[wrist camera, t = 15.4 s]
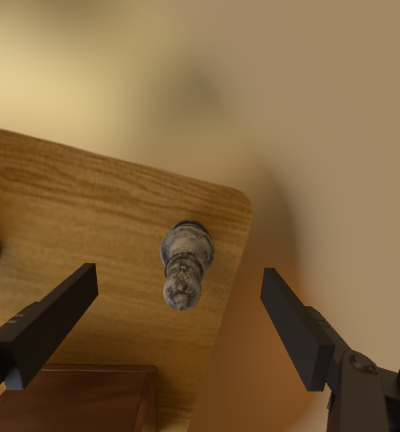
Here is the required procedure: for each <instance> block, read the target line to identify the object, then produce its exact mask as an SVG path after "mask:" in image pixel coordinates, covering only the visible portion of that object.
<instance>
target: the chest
mask: <svg viewBox="0 0 400 432" xmlns="http://www.w3.org/2000/svg"><path fill="white" fill-rule="evenodd" d="M0 432H156V392H155V366H128V365H70V364H44V365H43V367H42V368H41V369H40V370H39V372H38V373H37V374H36V376H35V377H34V378H33V379H32V381H31V382H30V383H29V385H28V386H27V387H26V388H25V390H7V389H6V390H5V391H4V392H3V393H2V394H1V396H0Z"/></svg>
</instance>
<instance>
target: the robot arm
mask: <svg viewBox="0 0 400 432" xmlns="http://www.w3.org/2000/svg"><path fill="white" fill-rule="evenodd" d="M97 296H98V285H97V276H96V266H95V263H85V264H83V265H82V266H81V267H80V268H79V269H77V270H76V271H75V272H74V273H73V274H72V275H70V276H69V277H68V278H67V279H66V280H64V281H63V282H62V283H61V284H60V285H59V286H57V287H56V288H55V289H54V290H53V291H51V292H50V293H49V294H48V295H47V296H45V297H44V298H43V299H42V300H41V301H40V302H34V303H32V304H31V305H29V306H27V307H25V308H24V309H22V310H21V311H20V312H19V313H17V314H16V315H15V317H12V318H11V319H10V320H9V321H8V322H7V323H5V324H4V325H3V326H1V327H0V384H1V383H2V382H3V381H4V382H5V385H6V389H7V390H25V388H26V387H27V386H28V385H29V383H30V382H31V381H32V379H33V378H34V377H35V376H36V374H37V373H38V372H39V370H40V369H41V368H42V367H43V365H44V364H45V363H46V361H47V360H48V359H49V358H50V356H51V355H52V354H53V352H54V351H55V350H56V349H57V347H58V346H59V345H60V343H61V342H62V341H63V340H64V338H65V337H66V336H67V334H68V333H69V332H70V331H71V329H72V328H73V327H74V325H75V324H76V323H77V322H78V320H79V319H80V318H81V316H82V315H83V314H84V313H85V311H86V310H87V309H88V307H89V306H90V305H91V304H92V302H93V301H94V300H95V298H96V297H97ZM260 298H261V300H262V302H263V304H264V306H265V308H266V310H267V311H268V314H269V316H270V318H271V320H272V322H273V324H274V326H275V328H276V330H277V332H278V334H279V336H280V338H281V340H282V342H283V344H284V345H285V348H286V350H287V352H288V354H289V356H290V358H291V360H292V362H293V364H294V365H295V368H296V370H297V372H298V374H299V375H300V377H301V380H302V382H303V384H304V385H305V388H306V390H307V391H323V390H324V386H325V383H327V384H328V386H329V387H330V389H331V391H332V392H331V395H330V399H329V402H328V406H327V409H329V412H328V422H327V431H326V432H400V370H399V372H398V373H396V372H393V371H389V370H386V369H383V368H379V367H377V366H376V364H375V363H374V362H373V361H371V360H370V359H369V358H368V357H366V356H365V355H363V354H361V353H359V352H356V351H354V350H352V349H351V348H350V347H349V346H348V345H347V344H346V342H345V341H344V340H343V339H342V338H341V337H340V336H339V335H338V333H337V332H336V331H335V330H334V329H333V328H332V327H331V325H330V324H329V323H328V322H327V321H326V319H325V318H324V317H323V316H322V315H321V314H320V313H319V312H318V311H317V310H315V309H314V308H313V307H311V306H304V305H303V304H302V302H301V301H300V300H299V299H298V297H297V296H296V295H295V294H294V292H293V291H292V290H291V289H290V287H289V286H288V285H287V284H286V282H285V281H284V280H283V279H282V277H281V276H280V275H279V273H278V272H277V271H276V270H275V268H264V276H263V283H262V290H261V297H260Z"/></svg>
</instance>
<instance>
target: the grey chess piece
mask: <svg viewBox="0 0 400 432" xmlns="http://www.w3.org/2000/svg"><path fill="white" fill-rule="evenodd" d="M160 257H161V260H162V262H163V264H164V266H165V270H164V272H165V277H166V280H165V284H164V288H163V295H164V299H165V301H166V302H167V304H168V305H169V306H171V307H172V308H174V309H177V310H187V309H189V308H192V307H193V306H194V305H196V303H197V302H198V301H199V299H200V296H201V281H202V280H203V278H204V275H205V270H206V269H207V268H208V267H209V266H210V265H211V263H212V261H213V258H214V245H213V243H212V241H211V238H210V237H209V234H208V232H207V230H206V229H205V227H204V226H203V225H201V224H200V223H198V222H196V221H192V220H185V221H181V222H179V223H177V224H175V225H174V226H173V227H172V228H171V230H170V232H169V233H168V234H166V236H165V237H164V239H163V240H162V243H161V245H160Z"/></svg>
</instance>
